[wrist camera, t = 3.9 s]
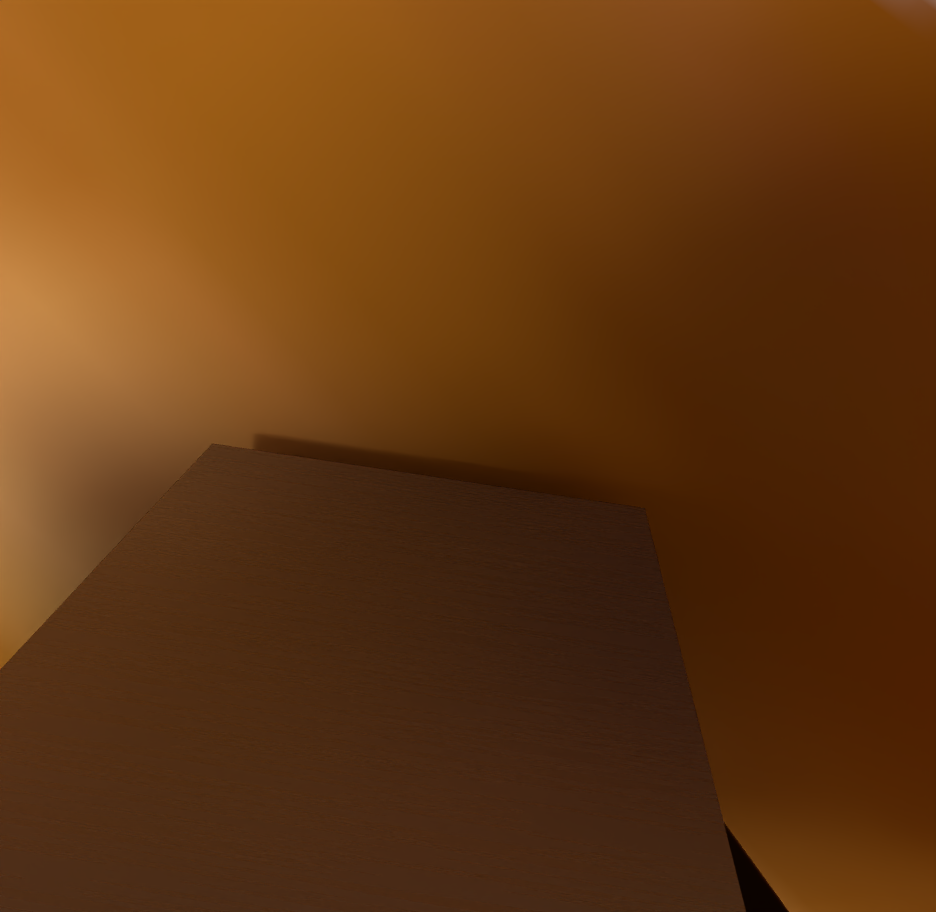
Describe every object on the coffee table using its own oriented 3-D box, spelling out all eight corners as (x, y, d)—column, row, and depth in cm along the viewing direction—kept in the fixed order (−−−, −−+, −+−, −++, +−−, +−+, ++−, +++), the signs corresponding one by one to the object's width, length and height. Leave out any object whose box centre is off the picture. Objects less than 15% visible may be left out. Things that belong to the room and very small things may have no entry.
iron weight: (644, 507, 9) (781, 1050, 4) (567, 814, 11) (588, 1414, 6) (212, 443, 9) (-206, 888, 4) (219, 759, 11) (-44, 1302, 6)
